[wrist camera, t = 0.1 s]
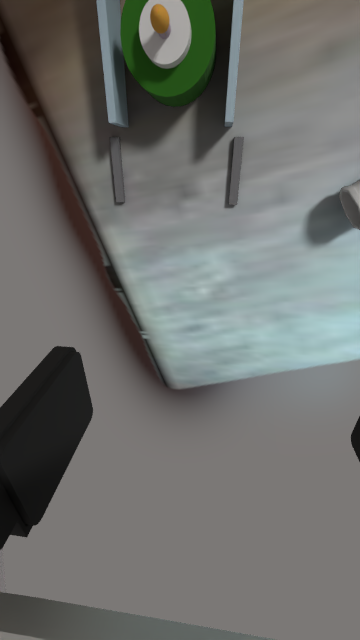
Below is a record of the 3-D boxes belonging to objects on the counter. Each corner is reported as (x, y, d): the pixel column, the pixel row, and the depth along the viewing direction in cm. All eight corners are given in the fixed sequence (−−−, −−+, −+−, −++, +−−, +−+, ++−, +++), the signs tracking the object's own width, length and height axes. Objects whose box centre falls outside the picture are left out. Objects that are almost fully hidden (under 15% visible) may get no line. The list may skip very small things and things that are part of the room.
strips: (111, 137, 33) (109, 137, 32) (243, 137, 31) (243, 136, 31) (117, 201, 36) (116, 202, 36) (236, 204, 35) (237, 204, 34)
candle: (192, 121, 31) (182, 107, 23) (125, 81, 30) (87, 50, 22) (231, 28, 27) (237, -34, 19) (155, -22, 26) (123, -112, 17)
